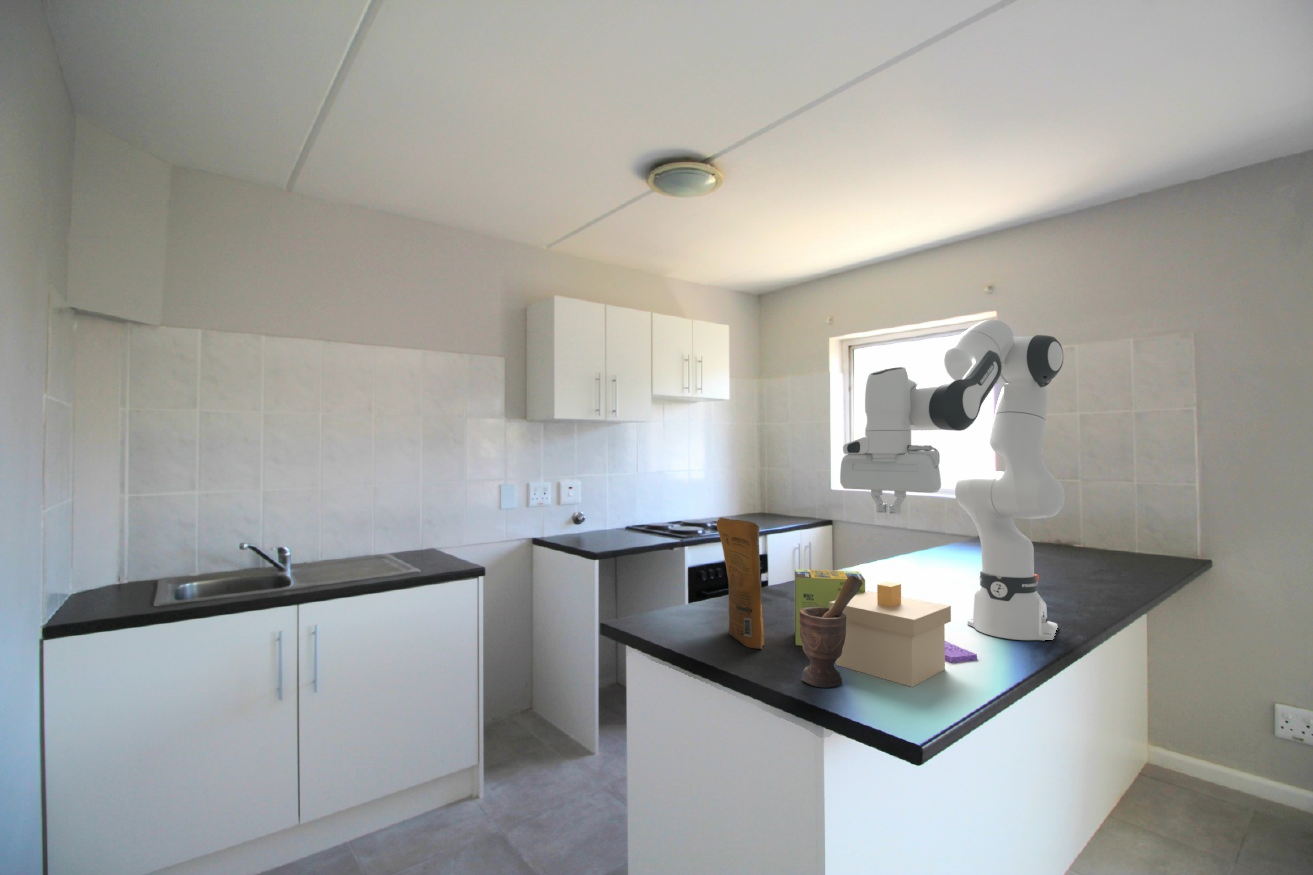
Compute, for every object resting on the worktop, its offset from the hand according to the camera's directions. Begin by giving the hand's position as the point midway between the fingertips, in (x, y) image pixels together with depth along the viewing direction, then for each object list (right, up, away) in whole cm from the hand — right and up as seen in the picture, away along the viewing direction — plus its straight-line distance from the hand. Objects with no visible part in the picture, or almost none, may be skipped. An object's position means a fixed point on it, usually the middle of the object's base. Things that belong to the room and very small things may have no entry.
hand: (888, 513), depth 125 cm
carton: (0, -31, -1) cm, 31 cm away
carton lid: (0, -21, -1) cm, 21 cm away
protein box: (-8, -32, +17) cm, 37 cm away
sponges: (+15, -32, +9) cm, 37 cm away
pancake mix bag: (-27, -32, +18) cm, 45 cm away
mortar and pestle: (-14, -31, -8) cm, 35 cm away
